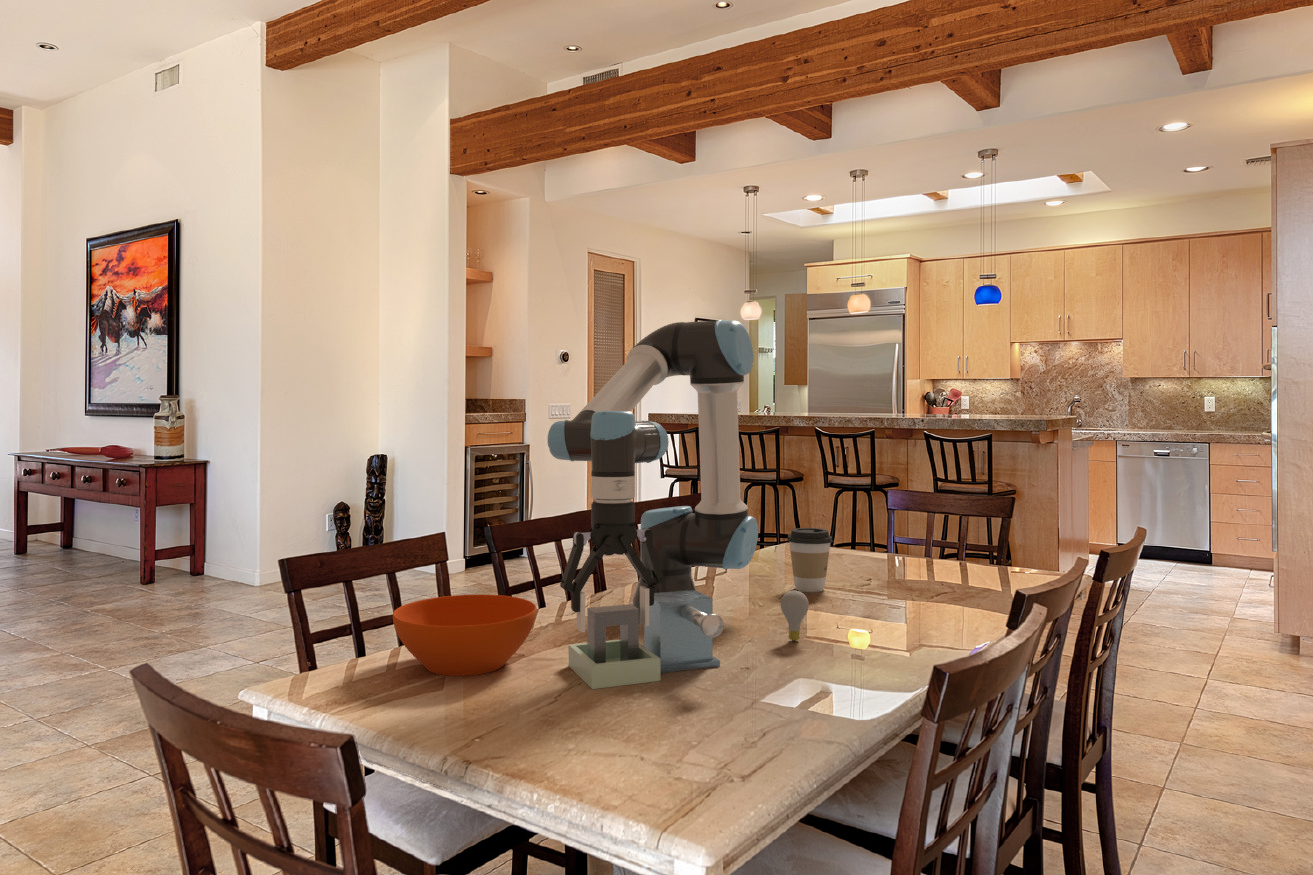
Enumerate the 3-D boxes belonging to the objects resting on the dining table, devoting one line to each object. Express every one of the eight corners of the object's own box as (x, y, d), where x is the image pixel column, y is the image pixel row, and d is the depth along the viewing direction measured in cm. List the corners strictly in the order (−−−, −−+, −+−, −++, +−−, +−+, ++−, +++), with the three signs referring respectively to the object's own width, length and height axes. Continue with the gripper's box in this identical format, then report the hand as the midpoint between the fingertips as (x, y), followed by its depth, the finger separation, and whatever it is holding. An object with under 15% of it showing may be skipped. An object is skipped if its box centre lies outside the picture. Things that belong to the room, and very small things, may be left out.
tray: (568, 665, 158) (568, 644, 158) (631, 658, 163) (631, 638, 163) (592, 689, 145) (592, 665, 145) (660, 680, 150) (660, 658, 150)
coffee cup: (836, 594, 219) (836, 533, 219) (790, 594, 219) (790, 533, 219) (828, 584, 231) (828, 527, 230) (784, 584, 231) (784, 527, 230)
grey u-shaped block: (587, 667, 154) (587, 607, 154) (630, 663, 157) (630, 604, 157) (594, 674, 151) (594, 612, 150) (638, 669, 154) (638, 608, 153)
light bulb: (807, 645, 172) (808, 594, 172) (779, 643, 173) (779, 592, 173) (808, 638, 177) (809, 588, 177) (781, 636, 179) (781, 587, 178)
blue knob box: (637, 658, 163) (637, 593, 163) (696, 651, 168) (697, 588, 167) (679, 690, 145) (680, 617, 144) (745, 682, 149) (746, 611, 149)
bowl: (410, 694, 143) (409, 632, 142) (380, 656, 165) (380, 602, 165) (557, 673, 154) (557, 616, 154) (511, 639, 176) (511, 589, 176)
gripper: (552, 505, 145) (553, 638, 146) (684, 500, 154) (683, 626, 155) (541, 500, 152) (541, 628, 153) (667, 495, 161) (667, 616, 162)
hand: (613, 627), depth 154 cm, fingers open, 11 cm apart
